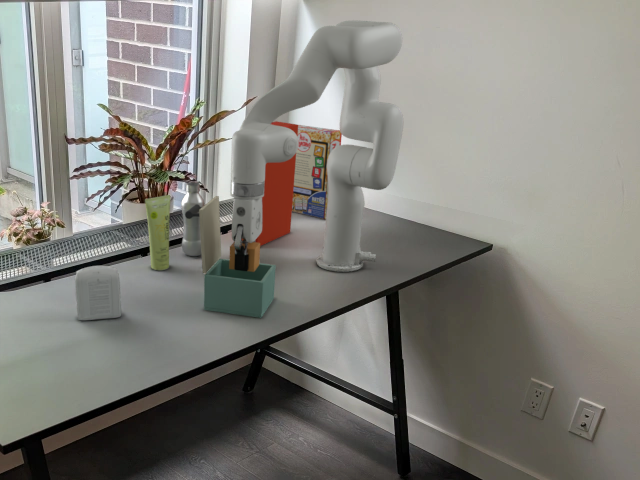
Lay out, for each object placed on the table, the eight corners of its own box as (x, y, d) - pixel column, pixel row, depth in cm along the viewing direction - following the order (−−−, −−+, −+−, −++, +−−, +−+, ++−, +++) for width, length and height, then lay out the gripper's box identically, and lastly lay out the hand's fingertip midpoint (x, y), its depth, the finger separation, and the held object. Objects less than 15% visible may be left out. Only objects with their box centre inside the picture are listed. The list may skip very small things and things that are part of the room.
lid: (218, 196, 172) (197, 195, 173) (202, 209, 162) (179, 209, 164) (221, 256, 179) (200, 255, 180) (205, 273, 169) (183, 272, 171)
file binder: (291, 233, 224) (298, 124, 208) (258, 247, 212) (263, 133, 196) (269, 228, 228) (274, 121, 212) (236, 242, 217) (239, 130, 201)
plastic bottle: (196, 260, 203) (195, 188, 193) (176, 255, 207) (175, 184, 197) (209, 253, 208) (210, 183, 198) (190, 249, 211) (190, 179, 201)
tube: (164, 272, 195) (163, 200, 185) (147, 270, 197) (144, 198, 187) (171, 265, 200) (170, 194, 190) (154, 263, 201) (152, 192, 192)
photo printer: (120, 311, 173) (117, 261, 167) (122, 318, 170) (120, 268, 164) (76, 315, 171) (72, 265, 165) (78, 322, 168) (74, 271, 162)
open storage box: (273, 298, 179) (275, 264, 175) (261, 318, 169) (263, 282, 165) (219, 291, 183) (219, 258, 179) (204, 310, 174) (204, 275, 169)
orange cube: (259, 265, 172) (260, 242, 170) (253, 272, 168) (254, 249, 166) (235, 262, 174) (235, 240, 171) (229, 269, 170) (229, 246, 168)
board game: (335, 216, 239) (343, 130, 226) (324, 220, 235) (332, 133, 222) (285, 204, 251) (290, 122, 238) (273, 208, 247) (278, 124, 234)
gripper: (253, 200, 154) (250, 280, 163) (273, 181, 168) (269, 256, 177) (219, 196, 156) (218, 276, 165) (241, 178, 170) (239, 253, 179)
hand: (244, 265), depth 171 cm, fingers closed on orange cube, 4 cm apart
